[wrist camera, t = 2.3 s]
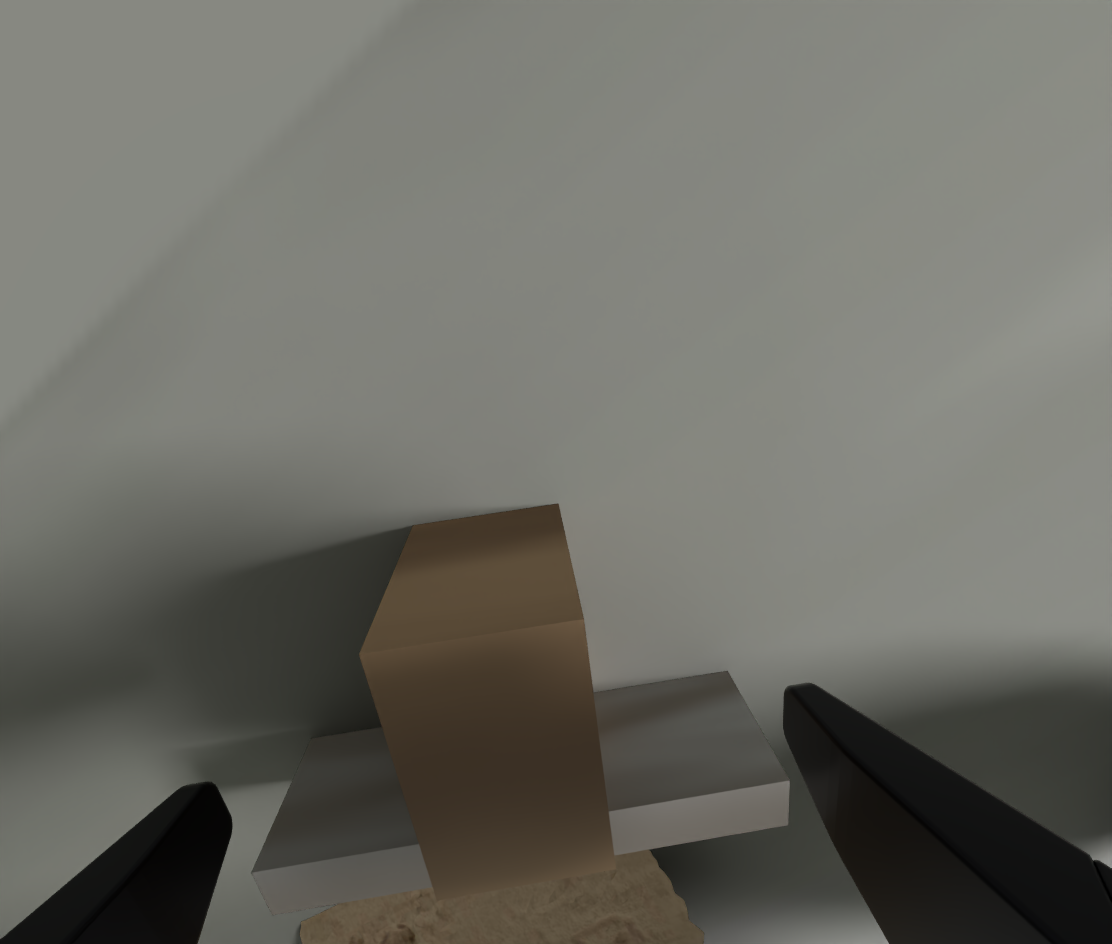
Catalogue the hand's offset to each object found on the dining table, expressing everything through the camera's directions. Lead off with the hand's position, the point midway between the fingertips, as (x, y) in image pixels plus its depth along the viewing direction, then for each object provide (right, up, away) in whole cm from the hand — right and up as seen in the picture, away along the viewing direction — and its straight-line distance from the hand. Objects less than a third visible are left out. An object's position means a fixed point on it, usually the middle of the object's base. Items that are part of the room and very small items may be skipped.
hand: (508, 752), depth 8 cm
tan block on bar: (0, +1, +4) cm, 4 cm away
